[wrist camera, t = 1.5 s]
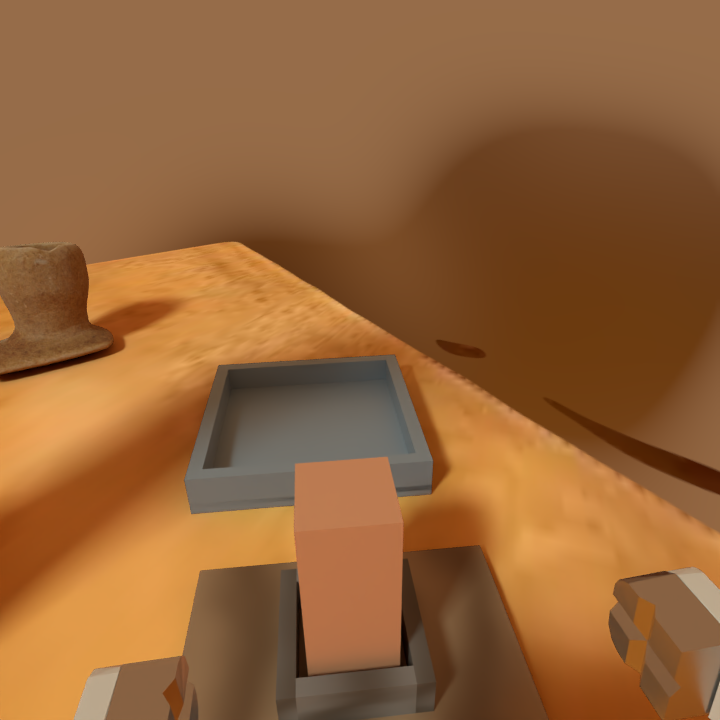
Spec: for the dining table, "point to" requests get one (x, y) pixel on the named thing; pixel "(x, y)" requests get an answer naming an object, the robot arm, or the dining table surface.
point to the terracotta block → (349, 564)
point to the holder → (363, 688)
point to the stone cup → (46, 306)
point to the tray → (302, 429)
